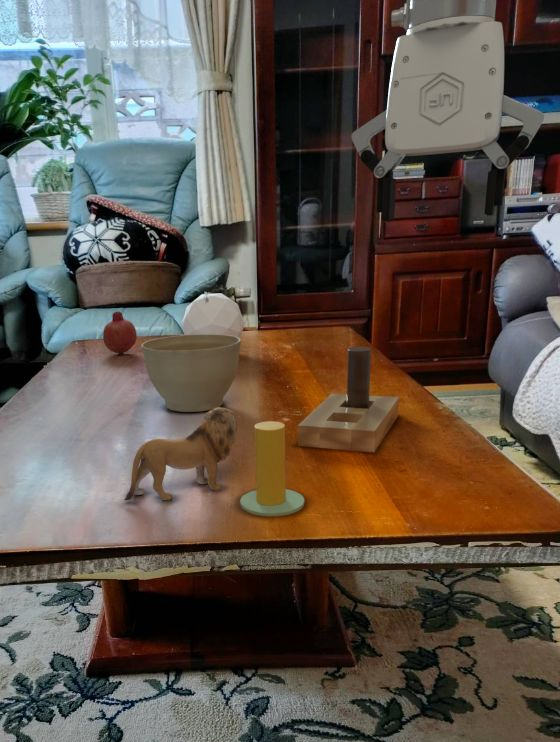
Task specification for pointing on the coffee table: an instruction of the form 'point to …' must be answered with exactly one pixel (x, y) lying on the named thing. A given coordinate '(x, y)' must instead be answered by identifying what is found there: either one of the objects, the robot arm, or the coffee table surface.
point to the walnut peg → (358, 377)
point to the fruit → (119, 334)
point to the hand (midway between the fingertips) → (437, 217)
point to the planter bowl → (192, 369)
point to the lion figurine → (187, 453)
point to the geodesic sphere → (213, 316)
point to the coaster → (288, 507)
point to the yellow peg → (270, 463)
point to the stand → (348, 424)
